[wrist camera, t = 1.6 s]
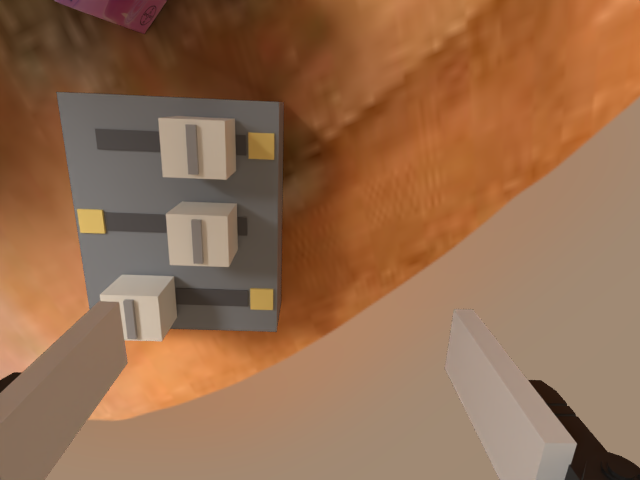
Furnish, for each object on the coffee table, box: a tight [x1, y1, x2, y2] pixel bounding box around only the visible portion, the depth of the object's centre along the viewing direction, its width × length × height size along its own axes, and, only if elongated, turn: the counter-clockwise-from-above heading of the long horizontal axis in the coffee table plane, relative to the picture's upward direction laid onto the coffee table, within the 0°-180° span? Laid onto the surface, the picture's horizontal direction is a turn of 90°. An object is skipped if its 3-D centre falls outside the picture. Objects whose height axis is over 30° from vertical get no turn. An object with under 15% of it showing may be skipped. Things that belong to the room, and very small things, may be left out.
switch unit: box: [56, 92, 284, 332], centre depth 33 cm, size 15×18×5 cm
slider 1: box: [100, 275, 177, 341], centre depth 31 cm, size 4×4×4 cm
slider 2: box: [158, 116, 236, 180], centre depth 27 cm, size 4×4×4 cm
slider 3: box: [166, 201, 238, 267], centre depth 29 cm, size 4×4×4 cm
